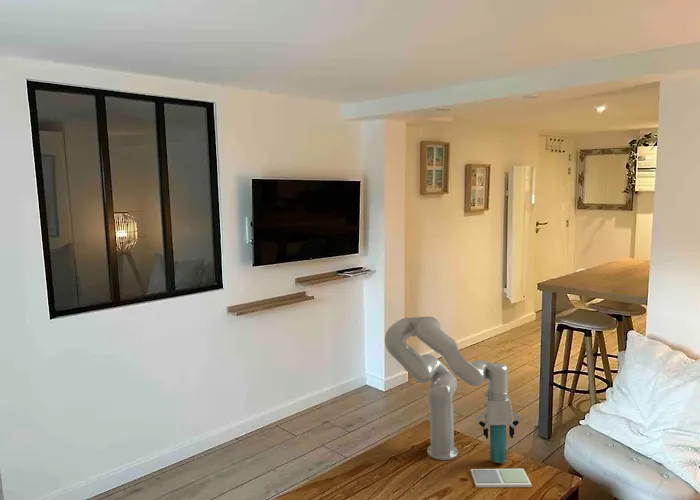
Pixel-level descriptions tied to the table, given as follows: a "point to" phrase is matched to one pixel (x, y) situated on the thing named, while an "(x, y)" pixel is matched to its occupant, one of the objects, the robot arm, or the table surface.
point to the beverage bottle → (498, 443)
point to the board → (500, 478)
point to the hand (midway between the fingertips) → (498, 436)
